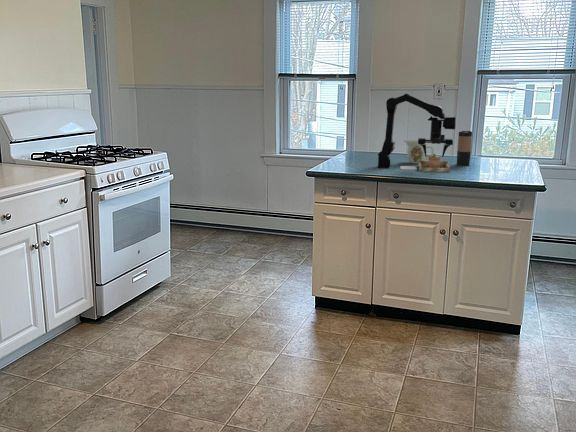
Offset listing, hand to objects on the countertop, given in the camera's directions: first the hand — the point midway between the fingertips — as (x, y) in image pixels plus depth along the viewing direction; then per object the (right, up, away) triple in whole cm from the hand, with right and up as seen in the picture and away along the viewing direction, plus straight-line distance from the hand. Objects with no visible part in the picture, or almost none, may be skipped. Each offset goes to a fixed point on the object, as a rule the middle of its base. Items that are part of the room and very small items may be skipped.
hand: (434, 156), depth 319 cm
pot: (0, -7, +2) cm, 7 cm away
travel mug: (+21, -4, +16) cm, 27 cm away
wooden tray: (0, -7, +2) cm, 8 cm away
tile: (-14, -7, +4) cm, 16 cm away
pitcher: (-4, -2, +23) cm, 24 cm away
